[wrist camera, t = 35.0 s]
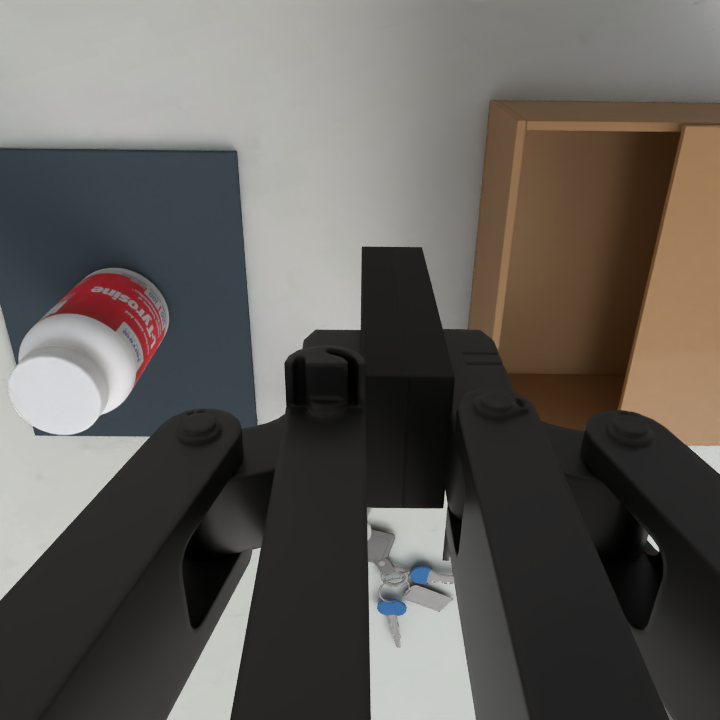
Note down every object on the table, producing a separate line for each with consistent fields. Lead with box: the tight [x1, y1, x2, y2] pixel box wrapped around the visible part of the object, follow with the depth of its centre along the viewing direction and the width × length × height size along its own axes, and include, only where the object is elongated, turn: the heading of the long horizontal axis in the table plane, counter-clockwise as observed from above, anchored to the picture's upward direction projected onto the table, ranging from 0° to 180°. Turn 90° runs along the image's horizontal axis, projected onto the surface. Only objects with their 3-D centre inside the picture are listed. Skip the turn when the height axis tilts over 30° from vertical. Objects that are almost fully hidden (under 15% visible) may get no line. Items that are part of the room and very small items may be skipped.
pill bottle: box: [8, 268, 169, 435], centre depth 38 cm, size 6×6×11 cm
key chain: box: [368, 530, 454, 647], centre depth 55 cm, size 14×8×1 cm, turn 21°
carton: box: [468, 100, 720, 431], centre depth 39 cm, size 18×15×7 cm
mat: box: [0, 149, 257, 436], centre depth 43 cm, size 20×16×1 cm
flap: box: [618, 125, 720, 446], centre depth 35 cm, size 18×7×1 cm, turn 179°
